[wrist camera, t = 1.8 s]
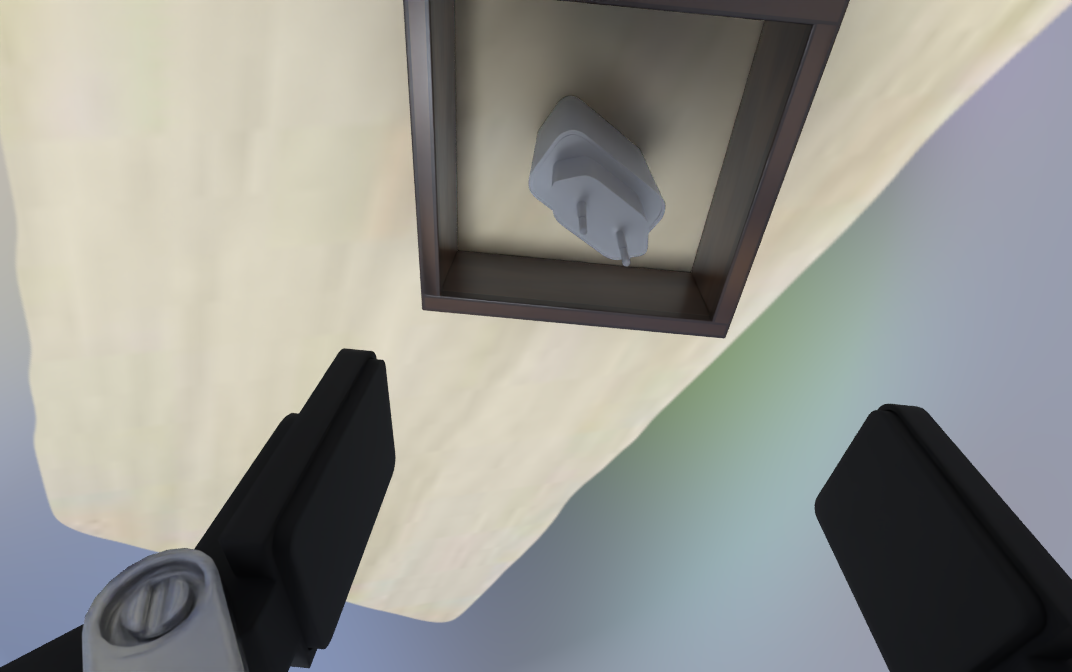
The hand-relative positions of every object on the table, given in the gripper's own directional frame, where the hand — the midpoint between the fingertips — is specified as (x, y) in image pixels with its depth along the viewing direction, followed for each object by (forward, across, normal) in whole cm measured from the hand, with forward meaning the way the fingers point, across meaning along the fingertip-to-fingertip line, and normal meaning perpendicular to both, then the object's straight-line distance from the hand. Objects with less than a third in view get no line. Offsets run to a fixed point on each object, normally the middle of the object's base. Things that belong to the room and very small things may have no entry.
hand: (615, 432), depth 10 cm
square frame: (+20, 0, -1) cm, 20 cm away
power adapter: (+20, 0, -1) cm, 20 cm away
